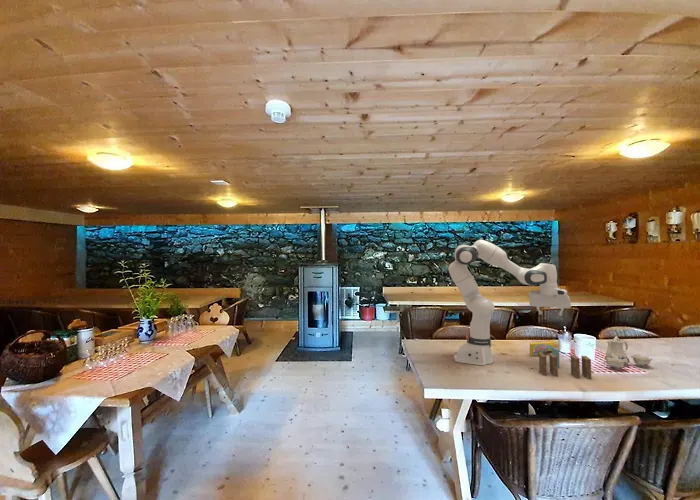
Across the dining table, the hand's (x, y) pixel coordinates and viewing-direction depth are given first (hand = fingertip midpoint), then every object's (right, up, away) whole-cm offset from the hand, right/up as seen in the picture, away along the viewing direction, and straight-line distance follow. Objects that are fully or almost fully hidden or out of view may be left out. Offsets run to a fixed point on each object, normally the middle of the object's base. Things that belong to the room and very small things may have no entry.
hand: (550, 314), depth 183 cm
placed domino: (+3, -29, -1) cm, 29 cm away
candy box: (+7, -30, +19) cm, 36 cm away
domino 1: (-11, -29, -11) cm, 33 cm away
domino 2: (-6, -29, -13) cm, 32 cm away
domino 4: (+8, -29, -17) cm, 34 cm away
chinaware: (+40, -29, -2) cm, 49 cm away
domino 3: (+3, -29, -16) cm, 33 cm away
